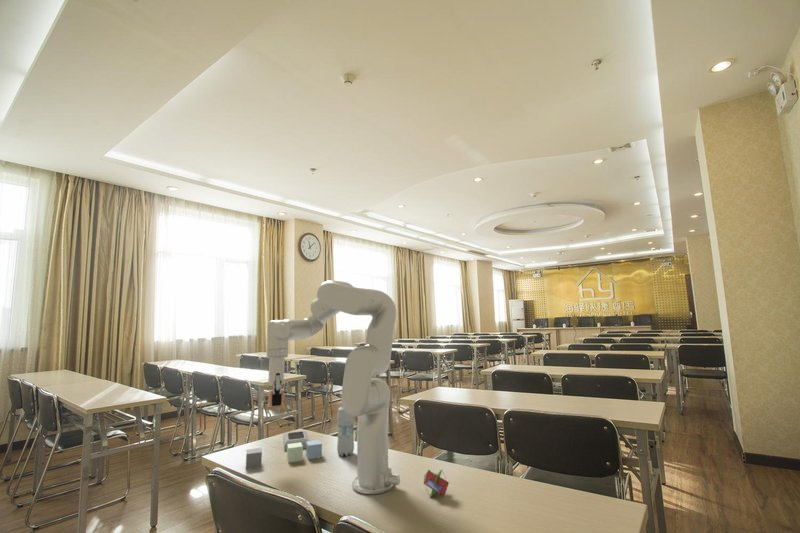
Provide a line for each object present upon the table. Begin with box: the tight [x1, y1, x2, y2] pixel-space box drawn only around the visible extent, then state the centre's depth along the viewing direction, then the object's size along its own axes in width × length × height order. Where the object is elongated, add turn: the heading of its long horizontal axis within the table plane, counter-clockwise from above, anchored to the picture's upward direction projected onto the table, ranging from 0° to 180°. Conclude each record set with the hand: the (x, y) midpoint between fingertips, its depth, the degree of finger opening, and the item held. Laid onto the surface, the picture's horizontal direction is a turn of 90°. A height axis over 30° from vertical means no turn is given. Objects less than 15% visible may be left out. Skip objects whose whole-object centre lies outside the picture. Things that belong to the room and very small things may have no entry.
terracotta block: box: [268, 388, 285, 408], centre depth 136 cm, size 5×5×5 cm
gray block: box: [245, 447, 263, 470], centre depth 131 cm, size 5×5×5 cm
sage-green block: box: [286, 442, 304, 464], centre depth 136 cm, size 5×5×5 cm
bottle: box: [336, 401, 355, 457], centre depth 141 cm, size 7×7×20 cm
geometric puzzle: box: [423, 469, 450, 497], centre depth 107 cm, size 7×7×8 cm
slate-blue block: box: [305, 439, 323, 460], centre depth 138 cm, size 5×5×5 cm
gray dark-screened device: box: [282, 430, 310, 452], centre depth 154 cm, size 10×4×15 cm
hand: (276, 403), depth 136 cm, fingers closed on terracotta block, 4 cm apart
